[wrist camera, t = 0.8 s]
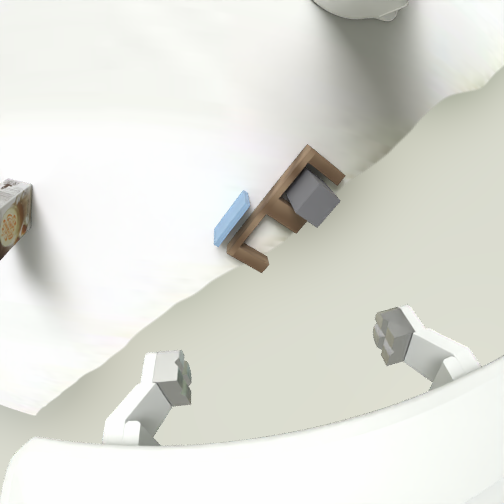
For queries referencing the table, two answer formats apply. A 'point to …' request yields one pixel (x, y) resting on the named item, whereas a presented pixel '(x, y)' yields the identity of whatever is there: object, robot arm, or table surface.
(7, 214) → the coffee box
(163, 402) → the robot arm
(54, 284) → the table surface
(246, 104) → the table surface
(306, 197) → the plug
